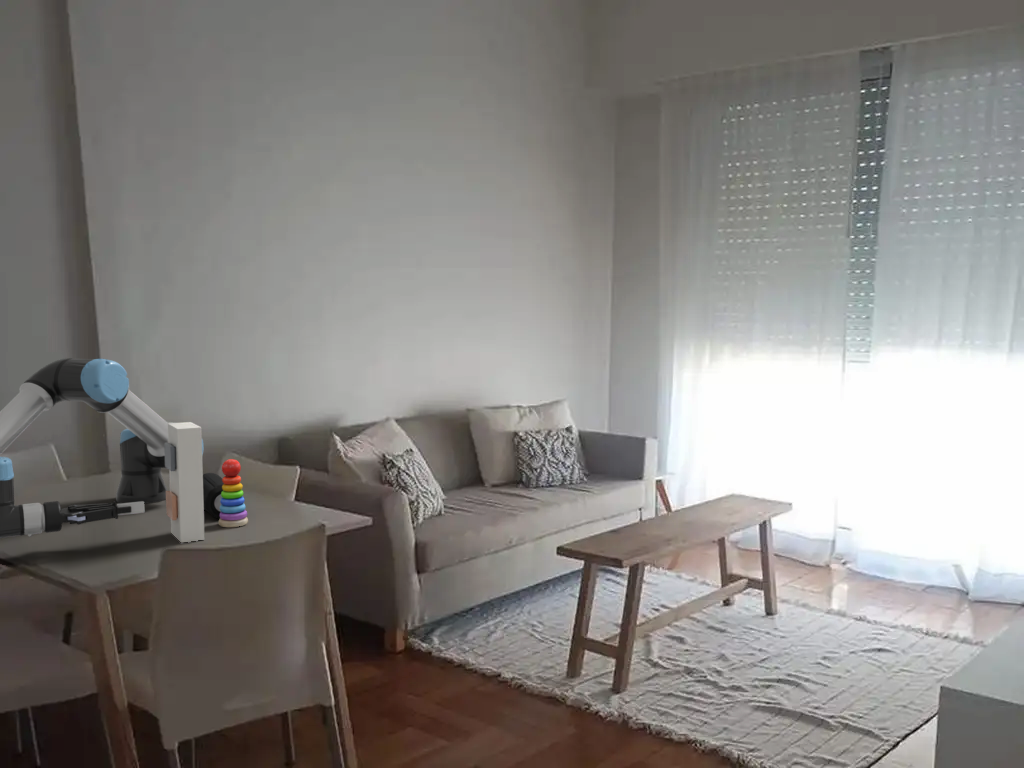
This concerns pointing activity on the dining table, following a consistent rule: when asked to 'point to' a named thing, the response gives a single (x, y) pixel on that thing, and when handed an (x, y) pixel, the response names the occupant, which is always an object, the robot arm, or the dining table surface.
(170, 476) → the button panel
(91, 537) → the dining table surface
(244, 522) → the stacking toy
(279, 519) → the dining table surface
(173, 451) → the upper button
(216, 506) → the portable speaker
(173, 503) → the lower button
